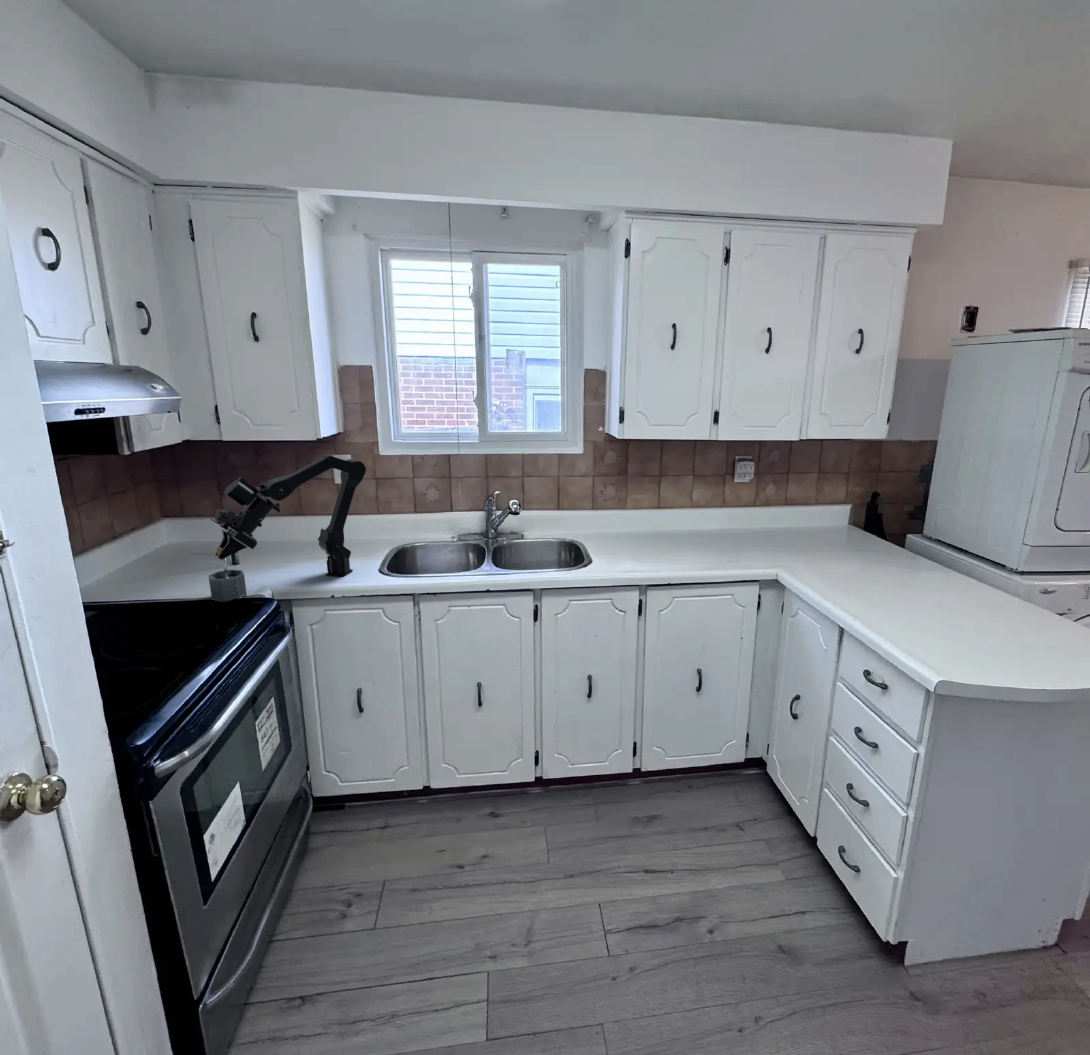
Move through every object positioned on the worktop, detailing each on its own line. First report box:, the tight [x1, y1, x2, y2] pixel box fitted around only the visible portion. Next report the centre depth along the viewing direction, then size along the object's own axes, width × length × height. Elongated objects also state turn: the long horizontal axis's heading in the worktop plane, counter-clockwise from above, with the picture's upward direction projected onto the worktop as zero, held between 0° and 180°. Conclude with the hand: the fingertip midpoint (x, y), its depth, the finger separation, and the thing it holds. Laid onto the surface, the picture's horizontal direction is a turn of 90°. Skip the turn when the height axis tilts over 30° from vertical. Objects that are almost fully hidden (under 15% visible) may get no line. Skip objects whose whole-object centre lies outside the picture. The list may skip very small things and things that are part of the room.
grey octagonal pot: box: [208, 569, 247, 604], centre depth 166 cm, size 9×9×7 cm
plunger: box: [216, 546, 236, 580], centre depth 164 cm, size 7×7×10 cm
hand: (218, 557), depth 163 cm, fingers closed on plunger, 3 cm apart
